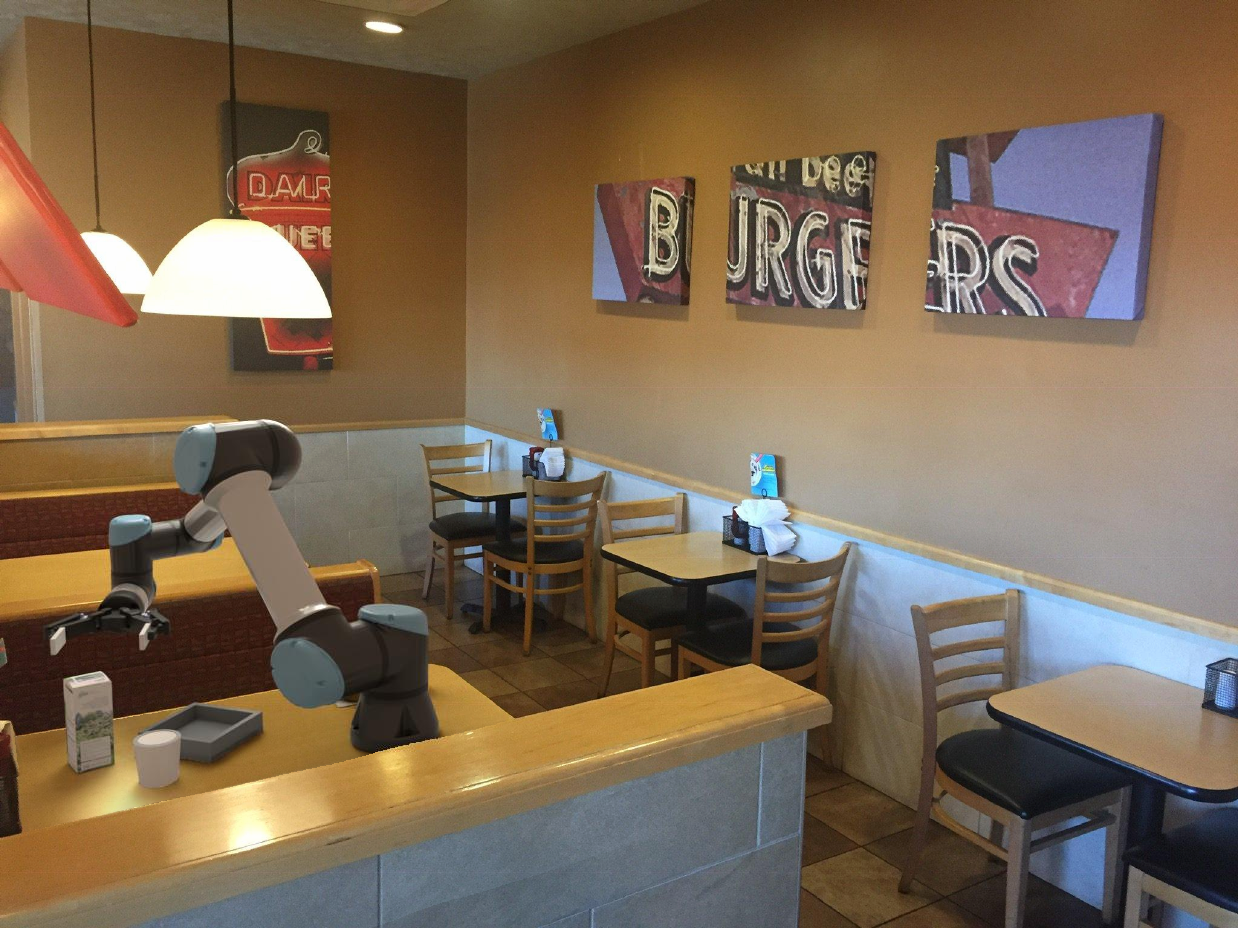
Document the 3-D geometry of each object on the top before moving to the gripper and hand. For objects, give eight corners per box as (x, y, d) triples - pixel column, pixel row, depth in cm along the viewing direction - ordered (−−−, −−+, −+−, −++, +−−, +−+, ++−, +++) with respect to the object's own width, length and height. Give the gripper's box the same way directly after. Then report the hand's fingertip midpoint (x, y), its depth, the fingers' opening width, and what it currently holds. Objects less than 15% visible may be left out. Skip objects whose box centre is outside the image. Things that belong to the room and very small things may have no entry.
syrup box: (105, 753, 167) (100, 669, 165) (116, 765, 163) (111, 678, 161) (67, 762, 164) (62, 676, 162) (77, 775, 159) (72, 686, 157)
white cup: (162, 792, 154) (160, 748, 153) (124, 786, 156) (122, 742, 155) (192, 773, 161) (190, 731, 160) (156, 767, 163) (154, 726, 162)
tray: (263, 730, 178) (262, 711, 177) (211, 763, 164) (210, 742, 164) (195, 720, 181) (194, 702, 181) (139, 752, 168) (138, 731, 168)
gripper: (194, 624, 195) (178, 661, 175) (50, 631, 188) (16, 670, 168) (193, 586, 194) (176, 619, 173) (48, 592, 187) (13, 627, 167)
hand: (97, 644), depth 171 cm, fingers open, 13 cm apart
